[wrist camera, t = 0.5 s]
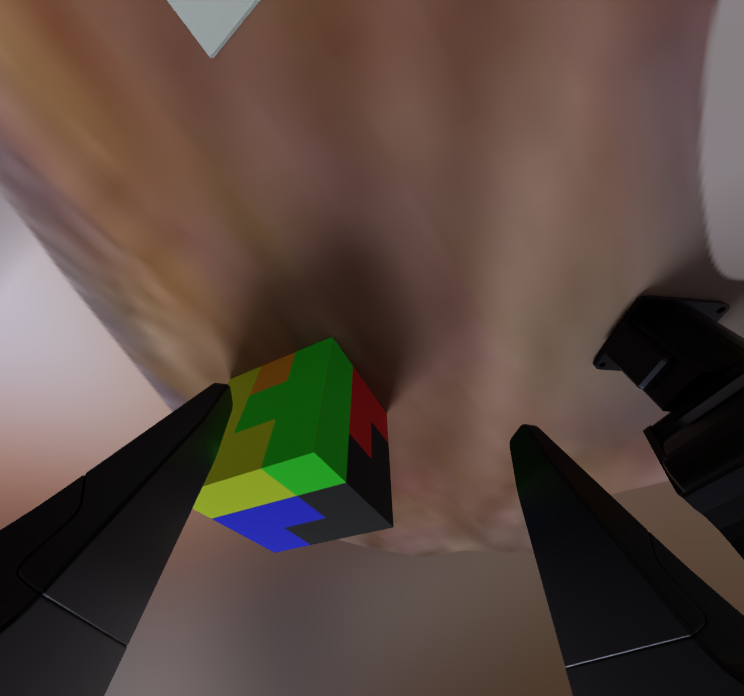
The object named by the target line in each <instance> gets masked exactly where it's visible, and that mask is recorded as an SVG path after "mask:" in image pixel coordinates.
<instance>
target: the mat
mask: <svg viewBox="0 0 744 696" xmlns="http://www.w3.org/2000/svg"><path fill="white" fill-rule="evenodd" d="M167 1H168V2H169V3H170V5H171V6H172V7H173V9H174V10H175V11H176V13H177V14H178V15H179V17H180V18H181V19H182V21H183V22H184V23H185V25H186V26H187V27H188V29H189V30H190V31H191V33H192V34H193V35H194V37H195V38H196V39H197V41H198V42H199V43H200V45H201V46H202V47H203V49H204V50H205V51H206V53H207V54H208V55H209V57H211V58H214V57H215V56H216V55H217V53H218V52H219V51H220V50H221V48H222V47H223V46H224V45H225V43H226V42H227V41H228V40H229V39H230V37H231V36H232V35H233V34H234V32H235V31H236V30H237V29H238V27H239V26H240V25H241V24H242V22H243V21H244V20H245V19H246V17H247V16H248V15H249V14H250V13H251V11H252V10H253V9H254V8H255V6H256V5H257V4H258V3H259V1H260V0H167Z"/></svg>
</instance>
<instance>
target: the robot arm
mask: <svg viewBox="0 0 744 696" xmlns="http://www.w3.org/2000/svg"><path fill="white" fill-rule="evenodd" d="M645 302H646V303H645ZM644 303H645V304H644ZM729 307H730V306H729V305H728V304H727V303H725V302H723V301H714V300H701V299H688V298H674V297H661V296H648V295H646V296H642V297H640V298H639V299H637V300H636V302H635V303H634V305H633V306H632V307H631V309H630V310H629V312H628V313H627V314H626V316H625V317H624V319H623V320H622V322H621V323H620V324H619V326H618V327H617V329H616V330H615V332H614V333H613V334H612V336H611V337H610V339H609V340H608V341H607V343H606V344H605V346H604V347H603V349H602V350H601V351H600V353H599V354H598V356H597V357H596V359H595V360H594V361H593V365H594V366H595V367H596V368H597V369H601V370H617V371H622V372H623V373H624V374H625V375H626V376H627V377H628V378H629V379H630V380H631V381H632V382H633V383H634V384H635V385H636V386H637V387H638V388H639V389H642V390H643V391H644V392H645V393H646V394H647V395H648V396H649V397H650V398H651V399H652V400H653V401H654V402H655V403H656V404H657V405H658V406H659V407H660V408H661V409H662V410H663V411H668V412H669V414H667V415H666V416H665V417H663V418H662V419H661V420H659V421H658V422H656V423H655V424H654V425H652V426H648V427H647V428H646V429H644V430H643V432H644V434H645V436H646V438H647V439H648V441H649V443H650V445H651V447H652V449H653V451H654V453H655V454H656V456H657V458H658V460H659V462H660V464H661V466H662V467H663V469H664V471H665V473H666V475H667V477H668V479H669V480H670V482H671V484H672V485H673V487H674V489H675V491H676V492H677V494H678V495H679V496H681V497H682V498H684V499H685V500H686V501H687V502H688V503H689V504H690V505H691V506H692V507H693V508H694V509H696V510H697V511H698V512H700V513H701V514H702V515H704V516H705V517H706V518H707V519H708V520H709V521H710V522H711V523H712V524H713V525H714V526H715V527H716V528H717V529H718V530H719V531H720V532H721V533H722V534H723V535H724V536H725V538H726V539H727V540H728V541H729V542H730V543H731V545H732V546H733V547H734V548H735V550H736V551H737V552H738V553H739V554H740V556H741V557H742V558H743V559H744V338H742V337H741V336H739V335H737V334H736V333H734V332H733V331H731V330H729V329H728V328H726V327H724V326H723V325H721V324H720V323H718V322H717V321H718V320H719V319H720V318H721V317H722V316H723V315H724V314H725V313H726V312H727V311H728V309H729ZM232 408H233V401H232V394H231V388H230V386H229V385H228V384H222V383H214V384H212V385H210V386H209V387H208V388H206V389H205V390H203V391H202V392H200V393H199V394H198V395H196V396H195V397H193V398H192V399H191V400H189V401H188V402H186V403H185V404H183V405H182V406H181V407H179V408H178V409H176V410H175V411H173V412H172V413H171V414H169V415H168V416H167V417H165V418H164V419H162V420H161V421H159V422H158V423H156V424H155V425H154V426H152V427H151V428H149V429H148V430H147V431H145V432H144V433H142V434H141V435H139V436H138V437H137V438H135V439H134V440H132V441H131V442H130V443H128V444H127V445H125V446H124V447H122V448H121V449H120V450H118V451H117V452H115V453H114V454H113V455H111V456H110V457H108V458H107V459H105V460H104V461H102V462H101V463H100V464H98V465H97V466H95V467H94V468H93V469H91V470H90V471H88V472H87V473H86V475H85V476H81V477H80V478H78V479H77V480H75V481H74V482H73V483H71V484H70V485H68V486H67V487H65V488H64V489H62V490H61V491H60V492H58V493H57V494H55V495H54V496H52V497H51V498H49V499H48V500H46V501H45V502H43V503H42V504H40V505H39V506H37V507H36V508H34V509H33V510H32V511H30V512H28V513H27V514H25V515H23V516H22V517H20V518H19V519H18V520H16V521H14V522H12V523H11V524H9V525H8V526H6V527H5V528H3V529H1V530H0V696H104V695H105V693H106V691H107V689H108V687H109V684H110V682H111V680H112V678H113V676H114V674H115V672H116V670H117V667H118V665H119V663H120V661H121V659H122V657H123V655H124V653H125V650H126V648H127V645H128V644H129V641H130V639H131V637H132V635H133V633H134V631H135V629H136V627H137V625H138V622H139V620H140V618H141V616H142V614H143V612H144V610H145V608H146V606H147V603H148V601H149V599H150V597H151V595H152V593H153V591H154V588H155V586H156V584H157V582H158V580H159V578H160V576H161V574H162V571H163V569H164V567H165V565H166V563H167V561H168V559H169V557H170V555H171V553H172V551H173V548H174V546H175V544H176V542H177V540H178V538H179V536H180V534H181V531H182V529H183V527H184V525H185V523H186V521H187V519H188V517H189V514H190V512H191V510H192V508H193V506H194V504H195V502H196V500H197V498H198V495H199V493H200V491H201V489H202V487H203V485H204V483H205V481H206V479H207V476H208V474H209V472H210V470H211V468H212V466H213V463H214V461H215V459H216V456H217V453H218V450H219V447H220V445H221V442H222V439H223V436H224V433H225V430H226V427H227V424H228V421H229V418H230V415H231V412H232ZM510 451H511V457H512V463H513V469H514V475H515V481H516V486H517V491H518V496H519V500H520V503H521V507H522V511H523V514H524V518H525V522H526V525H527V529H528V533H529V536H530V540H531V544H532V547H533V551H534V554H535V558H536V562H537V565H538V569H539V573H540V577H541V580H542V584H543V588H544V591H545V595H546V598H547V602H548V606H549V610H550V613H551V617H552V621H553V624H554V628H555V632H556V635H557V639H558V643H559V646H560V650H561V653H562V657H563V661H564V664H565V667H566V673H567V676H568V680H569V683H570V687H571V691H572V695H573V696H744V615H742V614H741V613H740V612H739V611H738V610H737V609H735V608H734V607H733V606H732V605H731V604H730V603H728V602H727V601H726V600H725V599H723V597H721V596H720V595H719V594H718V593H717V592H716V591H714V590H713V589H712V588H711V587H710V586H709V585H707V584H706V583H705V582H704V581H703V580H702V579H701V578H699V577H698V576H697V575H696V574H695V573H694V572H693V571H691V570H690V569H689V568H688V567H687V566H686V565H685V564H684V563H682V562H681V561H680V560H679V559H678V558H677V557H676V556H675V555H674V554H673V553H671V552H670V551H669V550H668V549H667V548H666V547H665V546H664V545H663V544H662V543H661V542H660V541H659V540H658V539H656V538H655V537H654V536H653V535H652V534H651V533H650V532H648V531H647V529H646V528H645V527H644V526H642V525H641V524H640V523H639V522H638V521H637V520H636V519H635V518H634V517H633V516H632V515H631V514H630V513H628V511H627V510H626V509H625V508H623V507H622V506H621V505H620V504H619V503H618V502H617V501H616V500H615V499H614V498H613V497H612V496H611V495H610V494H609V493H608V492H606V491H605V490H604V489H603V488H602V487H601V486H600V485H599V484H598V483H597V482H596V481H595V480H594V479H593V478H592V477H591V476H589V475H588V474H587V473H586V472H585V471H584V470H583V469H582V468H581V467H580V466H579V465H578V464H577V463H576V462H575V461H574V460H572V459H571V458H570V457H569V456H568V455H567V454H566V453H565V452H564V451H563V450H562V449H561V448H560V447H559V446H558V445H556V444H555V443H554V442H553V441H552V440H551V439H550V438H549V437H548V436H547V435H546V434H545V433H544V432H543V431H542V430H541V429H539V428H538V427H537V426H535V425H528V424H523V425H521V426H520V427H519V429H518V430H517V431H516V433H515V434H514V435H513V437H512V438H511V440H510Z"/></svg>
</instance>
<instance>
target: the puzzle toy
mask: <svg viewBox="0 0 744 696" xmlns="http://www.w3.org/2000/svg"><path fill="white" fill-rule="evenodd" d="M228 385H229V386H230V388H231V394H232V401H233V408H232V412H231V415H230V418H229V421H228V424H227V427H226V430H225V433H224V436H223V439H222V442H221V445H220V447H219V450H218V453H217V456H216V459H215V461H214V463H213V466H212V468H211V470H210V472H209V474H208V476H207V479H206V481H205V483H204V485H203V487H202V489H201V491H200V493H199V495H198V498H197V500H196V502H195V504H194V506H193V509H195V510H196V511H198V512H200V513H202V514H204V515H206V516H207V517H209V518H211V519H213V520H215V521H217V522H219V523H221V524H222V525H224V526H226V527H228V528H230V529H232V530H234V531H236V532H237V533H239V534H241V535H243V536H245V537H247V538H249V539H250V540H252V541H254V542H256V543H258V544H260V545H262V546H263V547H265V548H267V549H269V550H271V551H273V552H280V551H284V550H289V549H293V548H298V547H303V546H308V545H312V544H317V543H322V542H327V541H331V540H336V539H341V538H345V537H350V536H355V535H359V534H364V533H369V532H373V531H378V530H383V529H387V528H392V527H393V512H392V496H391V479H390V463H389V446H388V429H387V413H386V412H385V411H384V409H383V408H382V406H381V405H380V403H379V402H378V401H377V399H376V398H375V396H374V395H373V394H372V392H371V391H370V389H369V388H368V386H367V385H366V384H365V382H364V381H363V379H362V378H361V377H360V375H359V374H358V372H357V371H356V369H355V368H354V367H353V365H352V364H351V362H350V361H349V360H348V358H347V357H346V355H345V354H344V352H343V351H342V350H341V348H340V347H339V345H338V344H337V343H336V341H335V340H334V338H333V337H330V338H328V339H325V340H323V341H321V342H318V343H316V344H313V345H311V346H309V347H306V348H304V349H301V350H299V351H297V352H294V353H292V354H289V355H287V356H285V357H282V358H280V359H277V360H275V361H273V362H270V363H268V364H265V365H263V366H261V367H258V368H256V369H253V370H251V371H249V372H246V373H244V374H241V375H239V376H237V377H234V378H232V379H230V380H229V382H228Z"/></svg>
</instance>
